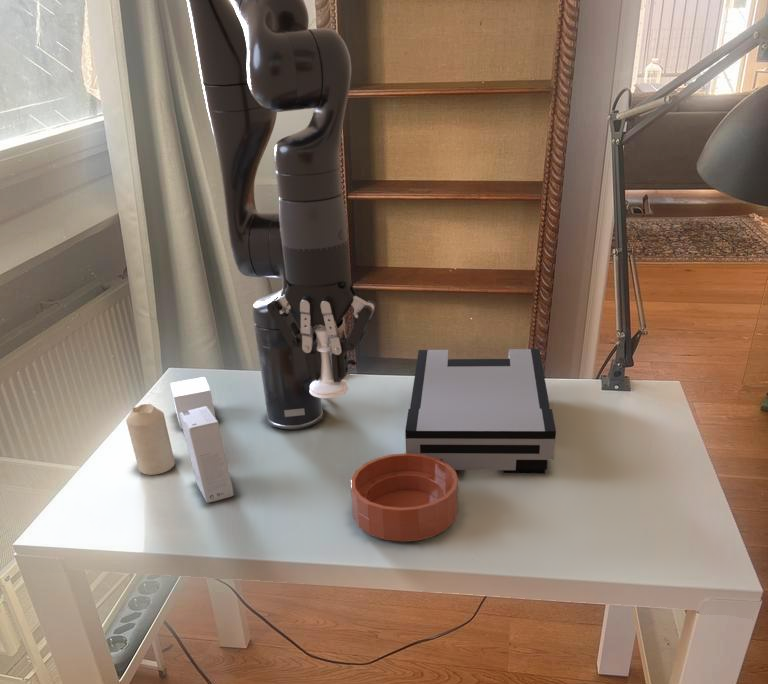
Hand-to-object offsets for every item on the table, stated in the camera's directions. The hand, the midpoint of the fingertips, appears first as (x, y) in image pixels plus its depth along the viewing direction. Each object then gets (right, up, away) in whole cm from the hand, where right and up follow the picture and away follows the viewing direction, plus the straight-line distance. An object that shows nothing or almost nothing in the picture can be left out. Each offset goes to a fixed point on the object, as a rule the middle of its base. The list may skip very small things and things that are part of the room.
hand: (328, 378), depth 98 cm
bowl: (+10, -17, +9) cm, 22 cm away
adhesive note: (-25, -1, +36) cm, 44 cm away
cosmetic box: (-18, -14, +17) cm, 28 cm away
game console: (+22, -3, +29) cm, 36 cm away
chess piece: (0, -1, +1) cm, 2 cm away
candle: (-28, -10, +24) cm, 38 cm away
